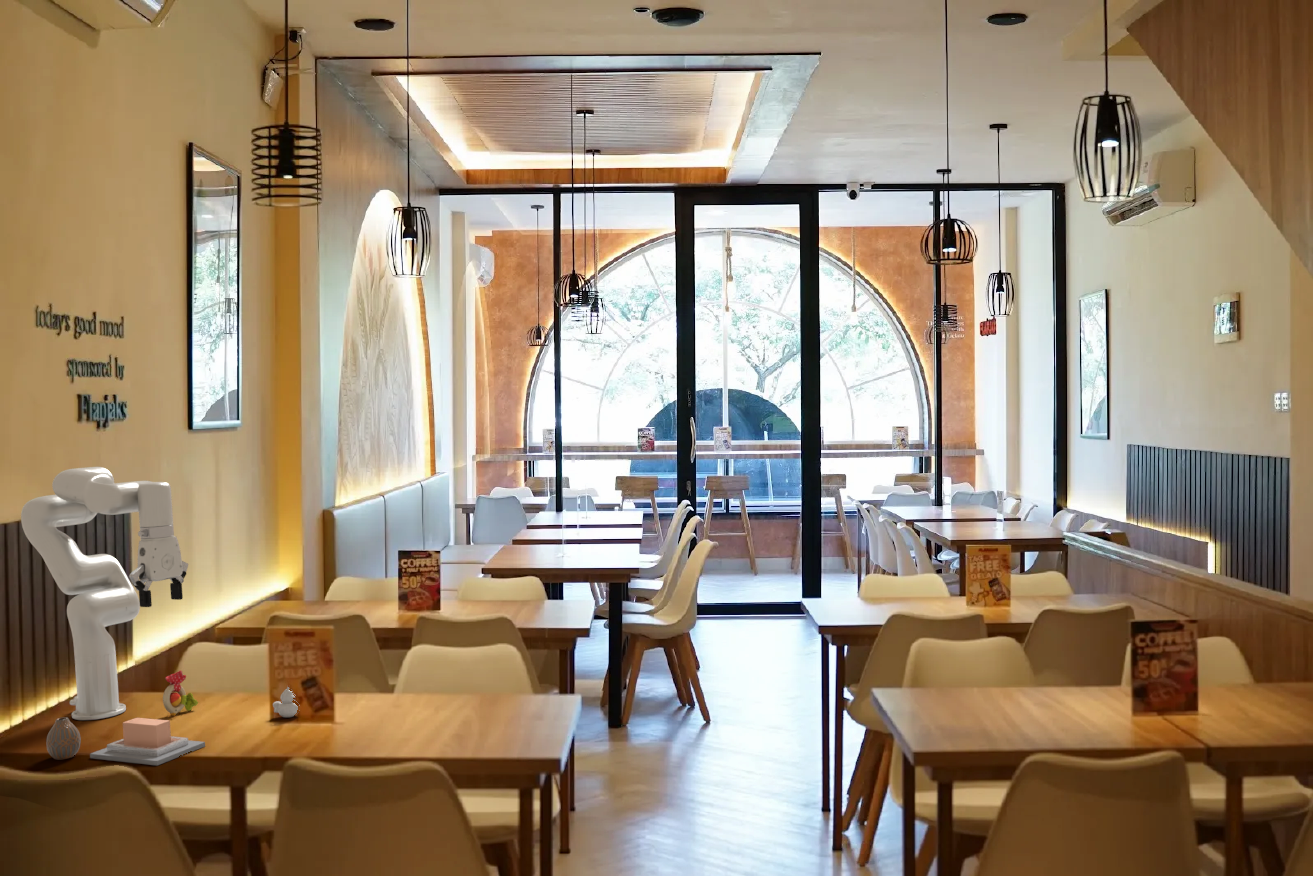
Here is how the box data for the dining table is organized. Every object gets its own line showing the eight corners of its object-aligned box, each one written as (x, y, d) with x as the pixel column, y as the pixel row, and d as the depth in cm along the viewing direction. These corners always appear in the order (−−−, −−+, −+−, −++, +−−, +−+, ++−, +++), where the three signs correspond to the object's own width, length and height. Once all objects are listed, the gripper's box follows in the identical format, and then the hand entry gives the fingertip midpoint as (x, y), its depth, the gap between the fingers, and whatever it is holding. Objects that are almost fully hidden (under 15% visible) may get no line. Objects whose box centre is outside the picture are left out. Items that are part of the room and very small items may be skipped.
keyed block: (157, 752, 262) (156, 725, 261) (124, 748, 265) (122, 722, 265) (171, 746, 265) (169, 720, 265) (138, 743, 269) (136, 717, 269)
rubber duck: (295, 719, 287) (293, 687, 287) (269, 720, 288) (267, 688, 287) (303, 713, 292) (301, 681, 292) (278, 714, 293) (276, 682, 293)
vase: (71, 750, 270) (68, 713, 269) (87, 754, 266) (85, 716, 265) (41, 759, 264) (38, 720, 264) (57, 763, 260) (55, 724, 260)
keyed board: (90, 758, 263) (89, 747, 263) (139, 739, 276) (139, 729, 276) (157, 765, 255) (156, 754, 255) (205, 746, 268) (204, 735, 268)
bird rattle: (185, 724, 296) (203, 701, 304) (171, 688, 291) (190, 666, 299) (163, 724, 297) (182, 700, 305) (149, 688, 292) (169, 666, 300)
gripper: (140, 538, 275) (145, 610, 276) (195, 528, 291) (200, 597, 292) (116, 537, 278) (121, 609, 279) (172, 528, 294) (177, 596, 295)
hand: (161, 603), depth 285 cm, fingers open, 9 cm apart
